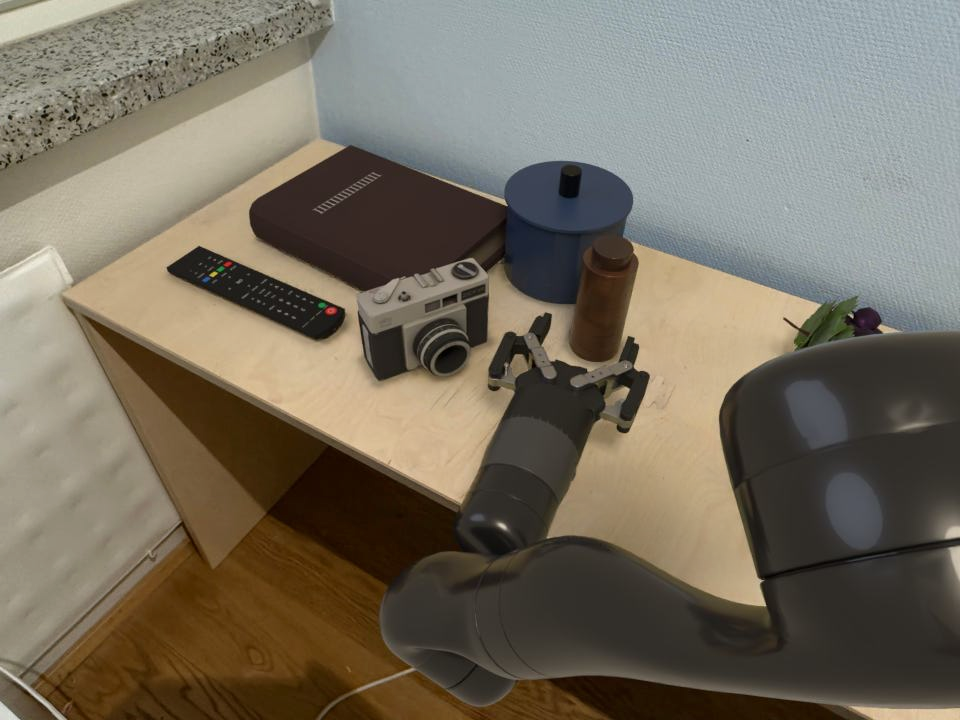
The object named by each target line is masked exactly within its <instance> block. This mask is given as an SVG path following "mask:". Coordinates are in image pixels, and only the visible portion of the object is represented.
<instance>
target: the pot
mask: <svg viewBox="0 0 960 720" xmlns="http://www.w3.org/2000/svg"><path fill="white" fill-rule="evenodd" d="M506 206H507V205H506ZM627 219H628V217H627V218H626V219H624V220H623V221H622V222H621V223H619V224H617V225H616V226H614V227H611V228H609V229H606V230H603V231H598V232H593V233H584V234H568V233H559V232H553V231H549V230H545V229H541V228H539V227H536V226H533V225H531V224H529V223H527V222H525V221H523V220H522V219H520V218H519V217H518V216H516V215H515V214H514V213H513V212H512V211H511V210H510V208H509V207H508V206H507V224H506V243H505V256H504V263H503V264H504V265H503V268H504V272H505V275H506V278H507V279H508V281H509V282H510V284H512V286H514V288H516V289H517V290H519V292H521V293H523V294H524V295H526V296H528V297H530V298H533V299H535V300H538V301H542V302H545V303H551V304H559V305H560V304H561V305H568V304H569V305H570V304H571V305H573V304H576V298H577V292H578V286H579V280H580V273H581V267H582V261H583V255H584V253H585V251H586V250H587V249H588V248H590V247H592V246H593V243H594V241H595V240H596V239H597V238H599V237H601V236H605V235H616V236H620V237H623V238H624V234H625V230H626V229H625V228H626V224H627V221H628V220H627Z"/></svg>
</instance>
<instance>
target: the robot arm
mask: <svg viewBox="0 0 960 720" xmlns="http://www.w3.org/2000/svg"><path fill="white" fill-rule="evenodd" d="M534 318H535V319H534V321H533V322H532V324H531V326H530V328H529V329H528V332H526V333H524V335H523V334H522V335H517V333H516V332H514V331H512V330H511V331H506V332H505V333H504V334H503V337H502V339H501V341H500V342H499V345H498V347H497V349H496V351H495V353H494V355H493V358H492V360H491V362H490V364H489V366H488V371H487V372H488V373H487V388H488V390H489V391H491V392H498V391H499V390H500V389H501V388H503V389H506V390H510V391H513V395H512V397H511V399H510V401H509V403H508V405H507V407H506V409H505V410H504V413H503V414H502V416H501V418H500V421H499V422H498V424H497V426H496V428H495V430H494V432H493V434H492V436H491V438H490V440H489V442H488V444H487V446H486V447H485V449H484V450H485V451H484V452H483V456H482V458H481V462H480V465H479V468H478V470H477V472H476V474H475V476H474V479H473V480H472V482H471V484H470V486H469V488H468V490H467V492H466V494H465V496H464V498H463V500H462V502H461V504H460V506H459V507H458V510H457V512H456V514H455V517H454V520H453V524H452V534H453V537H454V539H455V541H456V544H457V545H458V547H459V549H461V551H456V550H455V551H454V550H449V551H438V552H434V553H430V554H427V555H424V556H422V557H419V558H417V559H416V560H414V561H413V562H411V563H409V564H408V565H407V566H405V567H404V568H403V569H402V570H400V572H399V573H397V575H396V576H395V577H394V578H393V579H392V580H391V582H390V583H389V584H388V586H387V588H386V589H385V592H384V594H383V595H382V598H381V601H380V604H379V610H378V628H379V632H380V636H381V638H382V640H383V642H384V644H385V646H386V648H387V649H388V650H390V652H391V653H392V654H393V655H394V656H396V657H397V658H398V659H400V660H401V661H403V662H404V663H405V664H406V665H408V666H410V667H411V668H413V669H414V670H416V671H417V672H418V673H420V674H421V675H423V676H425V677H426V678H427V679H429V680H430V681H432V682H433V683H435V684H437V685H438V686H439V687H441V688H442V689H443V690H445V691H447V692H448V693H449V694H451V695H452V696H453V697H455V698H457V699H458V700H459V701H461V702H463V703H466V704H467V705H468V706H472V707H476V708H477V707H478V708H482V707H483V708H484V707H487V706H488V707H489V706H491V705H493V704H495V703H497V702H499V701H501V700H503V698H505V697H506V696H507V695H508V694H509V693H511V691H512V690H513V689H514V688H515V686H516V684H517V683H518V682H519V681H537V680H551V679H561V678H563V679H564V678H574V677H611V678H623V679H632V680H639V681H644V682H651V683H655V684H661V685H669V686H674V687H675V686H676V687H681V688H688V689H697V690H703V691H711V692H718V693H727V694H728V693H729V694H736V695H737V694H739V695H747V696H756V697H763V698H770V699H779V700H786V701H787V700H788V701H795V702H796V701H797V702H805V703H814V704H824V705H832V706H843V707H854V708H871V709H872V708H873V709H888V710H889V709H890V710H947V709H960V330H950V329H949V330H948V329H946V330H943V329H942V330H941V329H940V330H939V329H937V330H936V329H935V330H913V331H898V332H897V331H895V332H883V334H873V335H866V336H859V337H852V338H846V339H840V340H836V341H831V342H827V343H823V344H819V345H815V346H811V347H807V348H803V349H799V350H795V349H794V350H795V351H794V350H793V351H790V352H787V353H785V354H782V355H778V356H777V357H774V358H771V359H769V360H767V361H765V362H763V363H762V364H759V365H758V366H756V367H755V368H753V369H751V370H749V371H748V372H746V373H745V374H743V375H742V376H741V377H740V378H739V379H738V380H736V382H734V383H733V384H732V385H731V387H730V388H729V389H728V391H726V394H725V395H724V397H723V400H722V403H721V405H720V408H719V410H718V411H719V412H718V428H719V438H720V443H721V450H722V453H723V458H724V462H725V466H726V471H727V474H728V478H729V483H730V486H731V490H732V492H733V496H734V499H735V503H736V506H737V510H738V513H739V516H740V521H741V524H742V527H743V530H744V535H745V538H746V542H747V546H748V548H749V552H750V556H751V559H752V562H753V567H754V570H755V575H756V577H757V578H758V579H759V580H760V582H759V589H760V591H761V594H762V597H763V600H764V604H765V605H753V604H747V603H742V602H737V601H733V600H729V599H726V598H723V597H720V596H716V595H714V594H712V593H710V592H707V591H705V590H703V589H700V588H698V587H695V586H693V585H691V584H689V583H687V582H686V581H684V580H682V579H680V578H678V577H677V576H674V575H673V574H671V573H670V572H669V573H668V572H667V571H665V570H663V569H662V568H660V567H659V566H657V565H655V564H653V563H651V562H650V561H648V560H646V559H644V558H643V557H641V556H639V555H637V554H635V553H634V552H631V551H630V550H628V549H626V548H624V547H622V546H619V545H617V544H615V543H612V542H609V541H606V540H603V539H600V538H597V537H594V536H586V535H585V536H584V535H576V534H575V535H574V534H573V535H572V534H571V535H569V534H568V535H560V536H554V537H549V538H547V537H548V535H549V533H550V530H551V527H552V525H553V523H554V519H555V517H556V515H557V511H558V509H559V507H560V505H561V503H562V501H563V500H564V498H565V497H566V495H567V493H568V491H569V490H570V486H571V484H572V482H573V481H574V479H575V477H576V474H577V467H578V466H579V463H580V460H581V457H582V455H583V453H584V451H585V448H586V445H587V442H588V439H589V437H590V434H591V432H592V429H593V427H594V426H595V424H596V423H597V422H599V421H600V420H605V421H607V422H609V423H613V424H615V425H616V427H615V428H616V430H617V432H618V433H619V434H624V435H625V434H628V433H629V432H630V431H631V428H632V426H633V424H634V421H635V419H636V417H637V414H638V412H639V409H640V407H641V404H642V403H643V400H644V398H645V395H646V392H647V388H648V385H649V382H650V379H651V374H650V373H649V372H648V371H646V370H637V369H636V368H635V364H636V361H637V359H638V355H639V352H640V344H639V343H636V342H635V341H636V337H633V336H631V335H628V336H627V338H626V341H625V343H624V345H623V348H622V350H621V353H620V356H619V359H618V362H617V363H614V364H612V365H610V366H608V365H606V364H605V365H602V366H600V367H597V368H596V369H592V370H591V371H588V368H586V367H584V366H579V365H571V364H569V363H568V362H565V361H563V360H560V359H557V358H556V359H555V360H550V358H549V356H548V354H547V351H546V350H545V348H544V346H542V345H543V344H544V342H545V341H546V338H547V336H548V334H549V333H550V329H551V326H552V321H553V320H552V319H553V313H550V312H547V311H545V312H544V313H543V315H538V316H536V317H534ZM516 355H521V356H522V358H523V360H524V362H525V365H526V367H527V370H526V371H523V372H521V373H519V374H518V375H517V376H515V375H514V373H513V367H512V366H511V365H512V363H513V360H514V358H515V357H516ZM624 388H627V389H629V390H628V393H627V395H626V397H625V398H623V397H621V398H620V399H618V400H616V401H615V402H614V404H611V405H607V404H606V400H607V399H609V397H610V396H611V395H612V394H613V393H615V392H618V391H620V390H622V389H624Z"/></svg>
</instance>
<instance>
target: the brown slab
mask: <svg viewBox="0 0 960 720" xmlns="http://www.w3.org/2000/svg"><path fill="white" fill-rule="evenodd" d="M248 218H249V226H250V228H251V230H252V233H253V234H254V236H255V237H256V238H258V239H260V240H262V241H264V242H266V243H267V244H270V245H272V246H274V247H276V248H278V249H280V250H282V251H284V252H286V253H288V254H290V255H291V256H293V257H296V258H298V259H299V260H301V261H304V262H305V263H308V264H310V265H312V266H314V267H315V268H318V269H320V270H321V271H324V272H326V273H328V274H329V275H332V276H334V277H335V278H338V279H340V280H342V281H343V282H346V283H347V284H350V285H352V286H354V287H355V288H358V289H359V290H362V291H363V292H365V291H368V290H371V289H374V288H377V287H381V286H384V285H387V284H388V283H389V282H390V281H392V280H393V279H397V278H402V277H406V278H409V277H414V275H415V274H419V275H424V274H427V273H429V272H431V269H436V268H440V267H443V266H446V265H449V264H452V263H456V262H459V261H462V260H465V259H468V258H473V259H474V260H475V261H476V262H477V263H478V264H479V265H480V267H481V268H482V269H483V270H484V271H485V272H486V273H487V272H488V271H490V270H491V269H492V268H493V267H494V266H495V265H496V264H498V262H500V261H501V260H502V259H503V258H505V243H506V224H507V204H503V203H500V202H499V201H495V200H492V199H490V198H487V197H485V196H483V195H480V194H477V193H475V192H472V191H469V190H467V189H465V188H462V187H460V186H457V185H454V184H452V183H449V182H447V181H445V180H441V179H439V178H437V177H434V176H432V175H429V174H427V173H424V172H422V171H419V170H416V169H414V168H411V167H408V166H406V165H403V164H401V163H398V162H396V161H393V160H390V159H388V158H385V157H383V156H381V155H378V154H375V153H373V152H370V151H367V150H365V149H362V148H360V147H358V146H354V145H353V144H350V145H347V146H346V147H344V148H343V149H340V150H339V151H338V152H335V153H334V154H332V155H330V156H329V157H327V158H326V159H323V160H322V161H319V162H318V163H316V164H314V165H313V166H311V167H309V168H307V169H306V170H304V171H302V172H301V173H299V174H297V175H296V176H295V175H294V177H292V178H290V179H288V180H287V181H285V182H283V183H281V184H280V185H277V186H276V187H274V188H273V189H271V190H269V191H267V192H266V193H264V194H262V195H260V196H258V197H257V198H256V199H255V200H254V201H252V203H251V205H250V207H249V210H248Z"/></svg>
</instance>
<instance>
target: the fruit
mask: <svg viewBox="0 0 960 720" xmlns="http://www.w3.org/2000/svg"><path fill="white" fill-rule="evenodd" d="M859 297H860V294H858V295H855V296H852V297H851V298H847V299H844V300H842V301H841V302H839V303H838V304H837V303H836V301H837V300H838V298H835V299H834V300H833V301H830V302H828V300H829V299H827V300H826V301H824V302H823V303H822V304H821V306H819V307H818V308H817V309H816V310H815V312H814V313H812V314H811V315H810V316H809V317H807V318H806V320H805V321H804V322H803V323H802V325H801V326H800V327H799V326H797V325H796V324H794V323H793V322H792V321H791V320H789V319H788V318H787V317H785V316H783V317H782V320H783V321H785V323H787V324H788V325H790V326H791V327H792V328H793V329H795V330H797V331H798V332H797V335H796V336H795V338H794V339H793V344H794V347H795V348H794V350H793V351H795V350H799V349H803V348H807V347H811V346H815V345H819V344H823V343H827V342H831V341H836V340H840V339H846V338H852V337H859V336H866V335H873V334H883V333H884V332H883V330H881V329H879V326H880V325H881V324H882V323H883V320H882V317H881V315H880V314H879V312H878V311H877V310H876V309H874V308H873V307H870V306H867V307H862V308H858V309H857V310H856V311H855V309H856V308H857V307H858V305H859V304H858V302H859V300H858V298H859ZM850 313H851V314H852V316H851V315H850Z"/></svg>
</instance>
